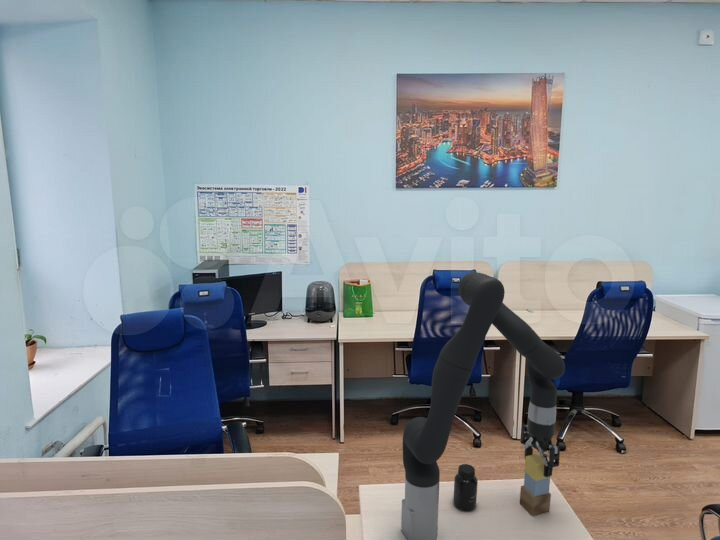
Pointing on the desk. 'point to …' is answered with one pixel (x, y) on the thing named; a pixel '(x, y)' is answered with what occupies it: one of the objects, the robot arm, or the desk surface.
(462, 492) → the supplement bottle
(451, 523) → the desk surface
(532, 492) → the tower mid
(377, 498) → the desk surface
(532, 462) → the top block
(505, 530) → the desk surface
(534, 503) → the tower base
